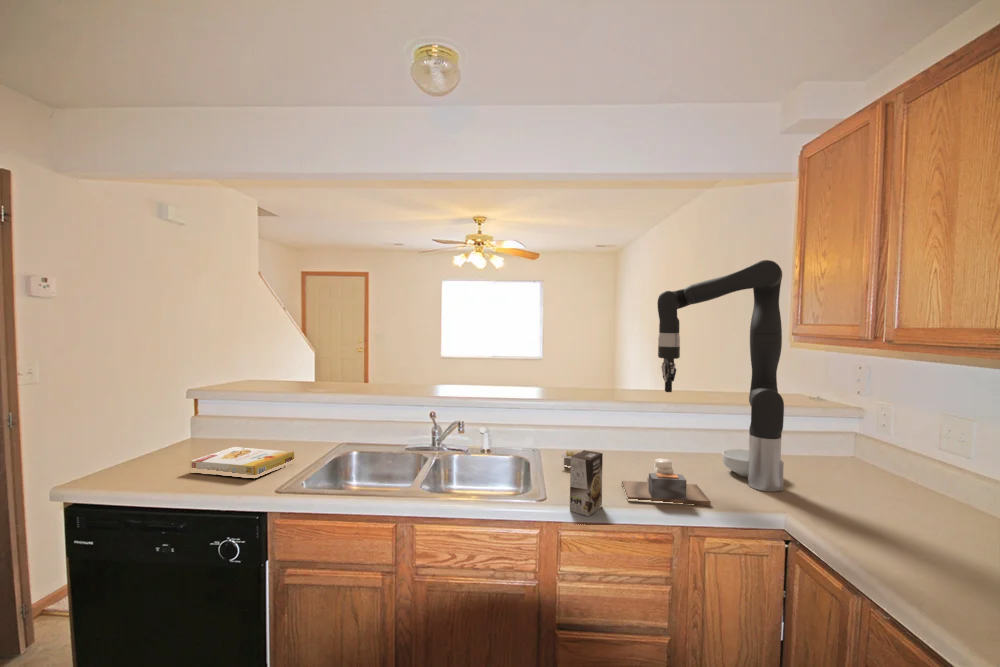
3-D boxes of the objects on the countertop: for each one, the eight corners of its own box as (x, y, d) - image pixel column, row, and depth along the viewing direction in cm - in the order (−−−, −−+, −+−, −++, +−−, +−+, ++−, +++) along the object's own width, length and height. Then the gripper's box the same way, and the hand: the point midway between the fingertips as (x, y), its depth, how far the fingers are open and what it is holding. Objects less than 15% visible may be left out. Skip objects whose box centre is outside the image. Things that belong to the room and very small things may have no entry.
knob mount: (696, 488, 149) (696, 465, 149) (710, 506, 135) (710, 480, 135) (621, 485, 152) (622, 461, 152) (628, 501, 138) (628, 476, 138)
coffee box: (589, 516, 128) (589, 460, 127) (568, 511, 131) (569, 455, 131) (602, 506, 135) (603, 452, 134) (583, 501, 139) (583, 448, 138)
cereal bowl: (761, 467, 172) (761, 449, 171) (784, 483, 155) (785, 462, 155) (714, 465, 173) (715, 447, 173) (732, 481, 157) (733, 461, 156)
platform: (555, 461, 178) (555, 445, 178) (601, 467, 172) (601, 450, 172) (547, 471, 167) (547, 453, 167) (597, 477, 161) (597, 459, 161)
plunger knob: (669, 486, 147) (669, 458, 146) (673, 492, 142) (673, 463, 141) (653, 485, 147) (653, 458, 147) (656, 491, 142) (657, 463, 142)
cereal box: (255, 465, 155) (188, 459, 161) (255, 481, 155) (188, 474, 161) (295, 450, 174) (234, 445, 181) (295, 464, 174) (234, 458, 181)
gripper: (684, 346, 160) (683, 395, 161) (675, 344, 173) (674, 389, 174) (662, 346, 161) (661, 394, 162) (654, 344, 174) (654, 389, 175)
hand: (668, 391), depth 168 cm, fingers closed
